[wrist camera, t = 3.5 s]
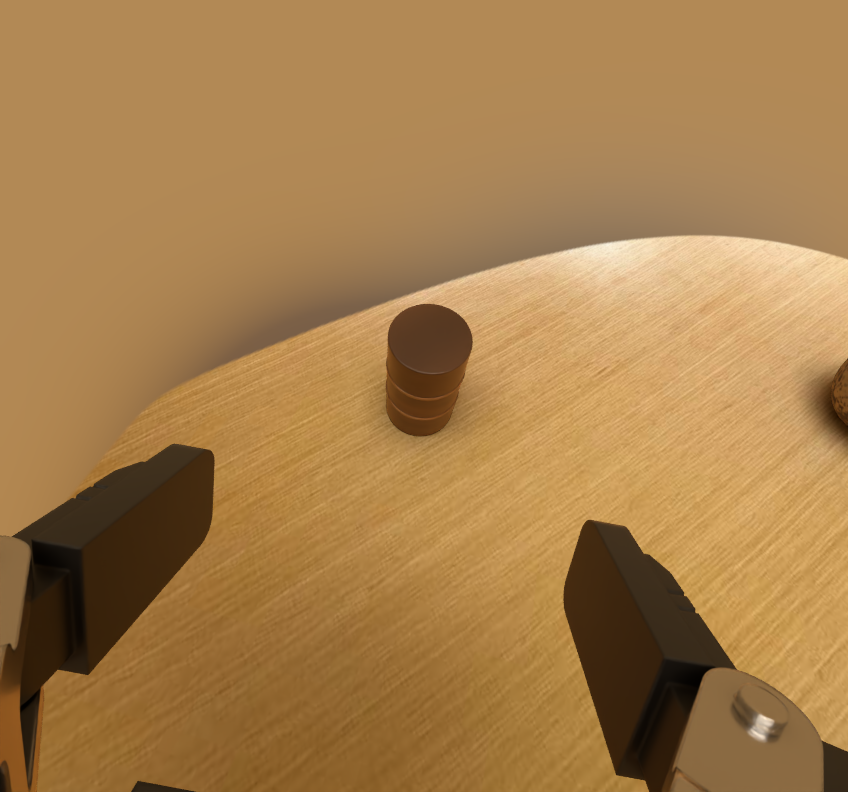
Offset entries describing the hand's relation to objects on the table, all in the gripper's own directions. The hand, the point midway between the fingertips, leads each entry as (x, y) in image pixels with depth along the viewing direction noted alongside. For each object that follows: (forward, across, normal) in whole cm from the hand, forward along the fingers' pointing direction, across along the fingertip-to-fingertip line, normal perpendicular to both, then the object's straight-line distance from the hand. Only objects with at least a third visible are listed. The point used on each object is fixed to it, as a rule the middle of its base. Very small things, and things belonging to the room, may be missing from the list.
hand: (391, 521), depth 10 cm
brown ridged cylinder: (+21, 0, +4) cm, 21 cm away
